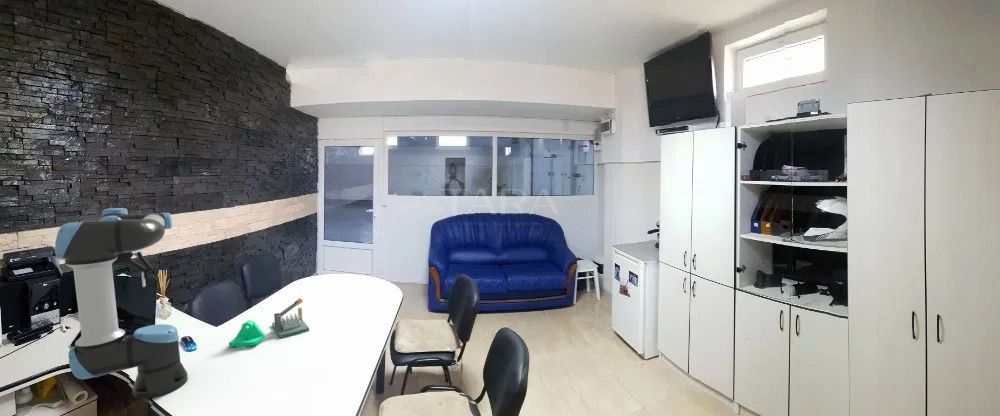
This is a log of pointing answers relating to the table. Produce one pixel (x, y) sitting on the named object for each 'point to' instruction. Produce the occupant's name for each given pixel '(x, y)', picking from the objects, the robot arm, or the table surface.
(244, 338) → the camera mount
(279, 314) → the grey lever handle
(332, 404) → the table surface
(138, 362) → the robot arm
